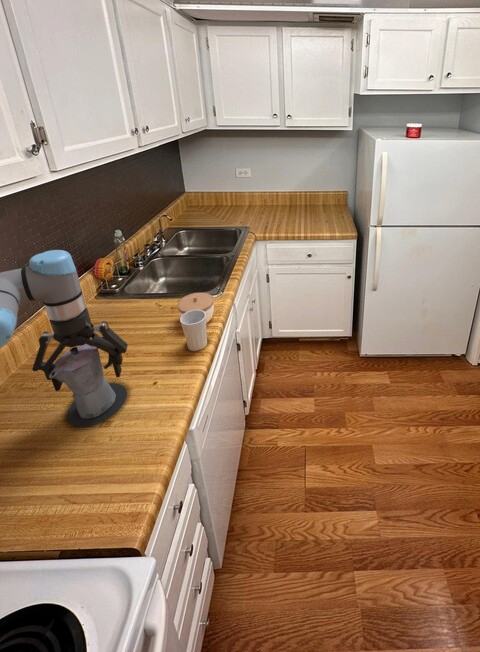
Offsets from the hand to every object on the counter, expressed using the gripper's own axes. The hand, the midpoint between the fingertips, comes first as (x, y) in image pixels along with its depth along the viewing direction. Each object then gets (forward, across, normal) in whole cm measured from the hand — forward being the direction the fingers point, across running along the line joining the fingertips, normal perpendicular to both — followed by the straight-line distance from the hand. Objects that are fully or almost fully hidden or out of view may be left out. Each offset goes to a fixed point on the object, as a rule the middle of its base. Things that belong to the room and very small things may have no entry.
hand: (89, 380), depth 87 cm
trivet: (+9, 0, 0) cm, 9 cm away
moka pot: (+9, 0, 0) cm, 9 cm away
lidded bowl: (+9, -27, -30) cm, 41 cm away
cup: (+10, -26, -16) cm, 32 cm away
